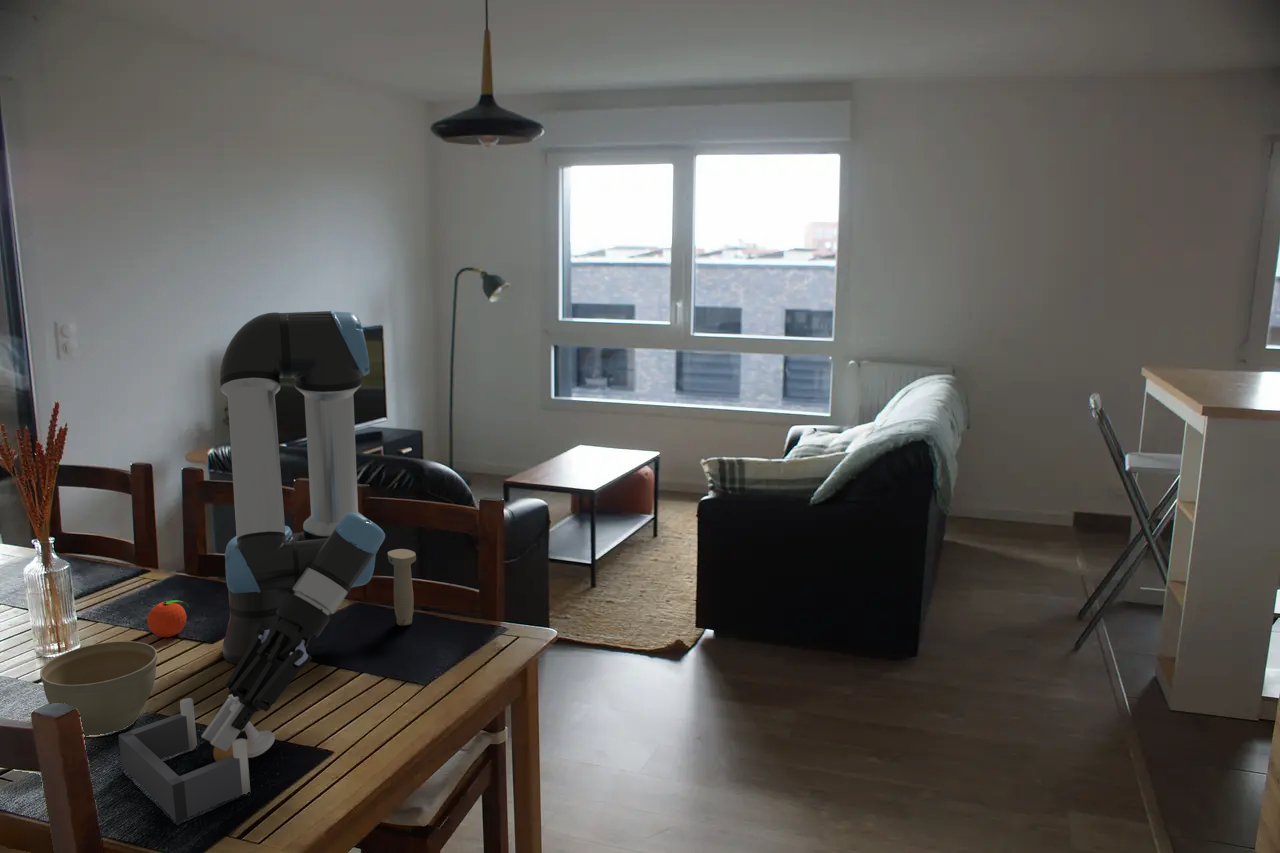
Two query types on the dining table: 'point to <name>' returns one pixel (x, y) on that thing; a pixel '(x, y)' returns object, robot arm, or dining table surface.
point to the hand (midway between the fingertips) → (213, 743)
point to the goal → (190, 789)
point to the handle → (402, 584)
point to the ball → (222, 753)
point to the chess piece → (254, 735)
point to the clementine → (167, 618)
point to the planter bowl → (102, 683)
